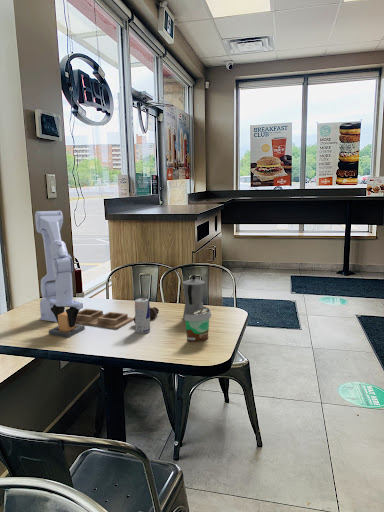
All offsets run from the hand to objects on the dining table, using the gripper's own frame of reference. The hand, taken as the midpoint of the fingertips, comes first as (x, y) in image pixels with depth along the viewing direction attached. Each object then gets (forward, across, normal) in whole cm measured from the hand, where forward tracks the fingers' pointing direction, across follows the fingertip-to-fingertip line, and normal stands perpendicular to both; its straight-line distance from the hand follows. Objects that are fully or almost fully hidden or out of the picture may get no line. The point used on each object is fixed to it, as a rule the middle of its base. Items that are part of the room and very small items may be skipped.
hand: (66, 325), depth 142 cm
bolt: (+3, +22, +23) cm, 32 cm away
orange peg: (+2, 0, 0) cm, 2 cm away
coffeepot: (+3, +38, +31) cm, 49 cm away
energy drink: (+3, +26, +11) cm, 28 cm away
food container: (+3, +49, +12) cm, 51 cm away
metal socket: (+2, 0, 0) cm, 2 cm away
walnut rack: (+2, +4, +15) cm, 16 cm away
